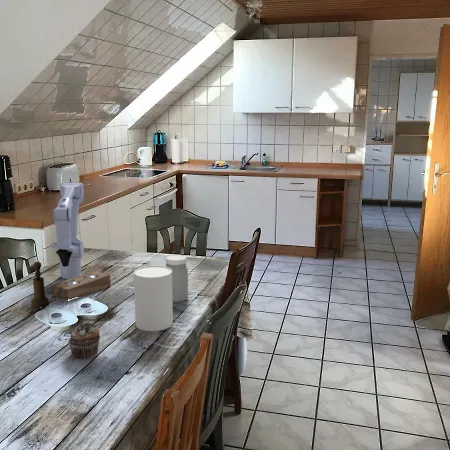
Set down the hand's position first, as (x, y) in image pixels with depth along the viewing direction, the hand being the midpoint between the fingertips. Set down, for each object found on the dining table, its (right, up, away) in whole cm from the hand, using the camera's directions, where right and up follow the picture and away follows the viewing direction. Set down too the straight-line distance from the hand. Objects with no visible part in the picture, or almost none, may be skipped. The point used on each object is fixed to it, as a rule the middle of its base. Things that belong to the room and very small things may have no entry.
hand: (65, 266), depth 212 cm
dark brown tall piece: (-5, -14, -15) cm, 22 cm away
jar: (+48, -13, -7) cm, 51 cm away
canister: (+42, -19, -30) cm, 55 cm away
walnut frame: (+7, -11, +1) cm, 13 cm away
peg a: (+4, -11, -3) cm, 13 cm away
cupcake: (+23, -24, -53) cm, 63 cm away
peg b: (+10, -10, +5) cm, 15 cm away
